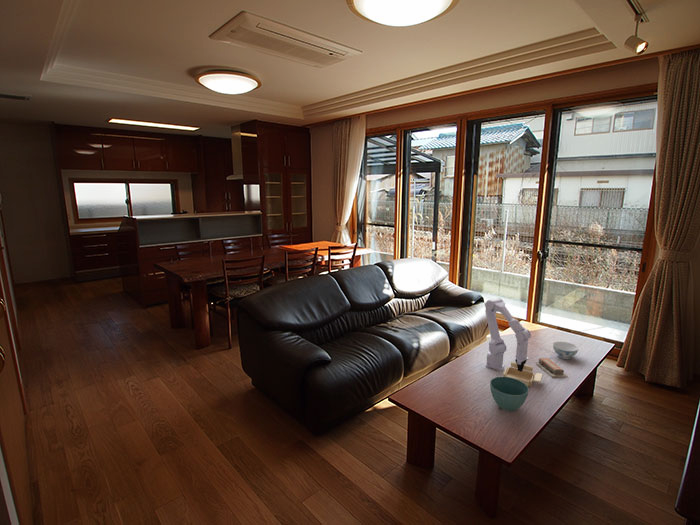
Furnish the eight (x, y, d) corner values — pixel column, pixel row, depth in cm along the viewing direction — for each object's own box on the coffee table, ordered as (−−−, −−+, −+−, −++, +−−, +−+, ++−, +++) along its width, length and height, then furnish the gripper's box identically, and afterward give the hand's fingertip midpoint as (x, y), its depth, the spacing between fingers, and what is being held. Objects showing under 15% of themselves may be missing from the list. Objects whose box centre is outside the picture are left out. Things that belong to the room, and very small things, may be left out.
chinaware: (582, 361, 238) (583, 350, 236) (559, 362, 238) (560, 351, 237) (569, 351, 252) (570, 341, 251) (547, 352, 253) (548, 341, 251)
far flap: (533, 380, 208) (540, 381, 206) (535, 373, 216) (542, 373, 214) (533, 381, 208) (540, 382, 206) (536, 374, 216) (542, 375, 214)
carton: (501, 380, 216) (502, 375, 216) (506, 371, 227) (506, 366, 226) (530, 387, 208) (531, 382, 207) (534, 378, 218) (534, 372, 217)
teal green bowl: (534, 413, 184) (537, 391, 181) (504, 420, 179) (506, 397, 176) (509, 394, 201) (511, 374, 198) (481, 400, 196) (482, 379, 193)
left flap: (510, 366, 225) (510, 362, 223) (511, 365, 225) (511, 361, 224) (532, 371, 218) (532, 367, 217) (532, 370, 219) (532, 366, 217)
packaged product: (535, 357, 235) (550, 356, 236) (535, 364, 236) (550, 363, 237) (552, 370, 218) (568, 370, 218) (551, 378, 219) (567, 377, 219)
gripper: (527, 355, 207) (525, 377, 209) (531, 346, 218) (529, 367, 221) (513, 353, 210) (512, 374, 213) (518, 344, 222) (516, 364, 225)
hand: (520, 370), depth 217 cm, fingers closed
